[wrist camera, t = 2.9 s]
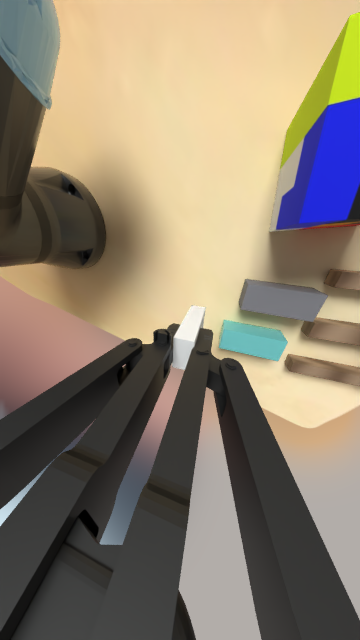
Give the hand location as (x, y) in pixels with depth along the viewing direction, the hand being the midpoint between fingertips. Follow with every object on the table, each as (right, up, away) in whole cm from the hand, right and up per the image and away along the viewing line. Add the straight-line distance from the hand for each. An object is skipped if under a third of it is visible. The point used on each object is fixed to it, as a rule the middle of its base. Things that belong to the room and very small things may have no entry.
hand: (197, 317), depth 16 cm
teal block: (+11, -3, +13) cm, 17 cm away
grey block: (+14, +4, +9) cm, 17 cm away
